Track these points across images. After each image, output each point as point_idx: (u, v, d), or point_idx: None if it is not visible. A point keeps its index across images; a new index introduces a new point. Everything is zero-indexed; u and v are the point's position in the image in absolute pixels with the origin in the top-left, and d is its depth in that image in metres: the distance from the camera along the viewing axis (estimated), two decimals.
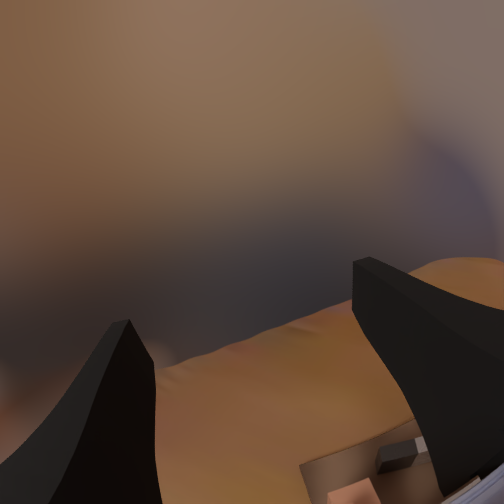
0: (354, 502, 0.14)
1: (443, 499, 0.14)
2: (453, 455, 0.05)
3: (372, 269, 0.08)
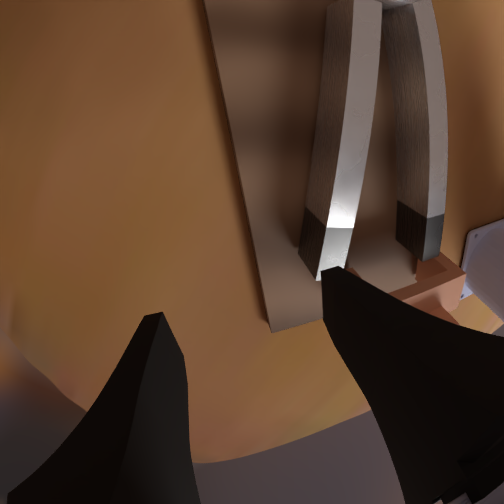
0: None
1: (391, 172, 0.17)
2: (416, 477, 0.05)
3: (337, 280, 0.08)
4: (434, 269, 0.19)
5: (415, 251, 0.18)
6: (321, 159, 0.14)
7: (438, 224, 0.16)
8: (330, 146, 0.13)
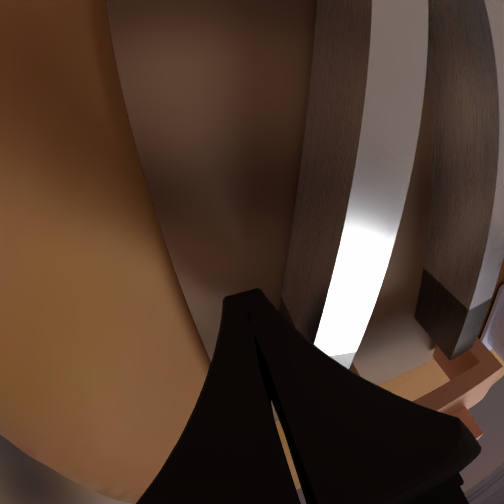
0: None
1: (420, 231, 0.11)
2: None
3: (246, 305, 0.08)
4: (461, 354, 0.12)
5: (441, 343, 0.11)
6: (308, 234, 0.08)
7: (481, 312, 0.10)
8: (324, 217, 0.07)
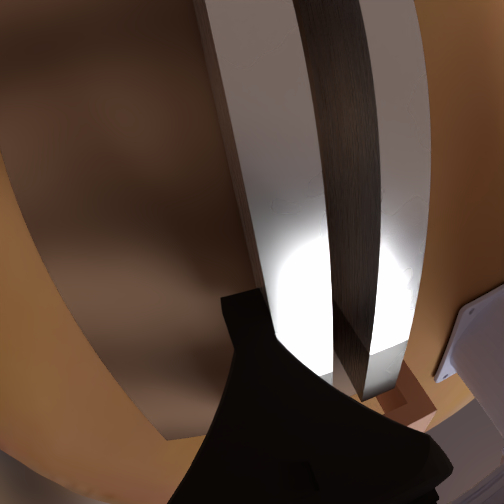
0: None
1: None
2: None
3: (227, 310, 0.08)
4: (391, 390, 0.12)
5: (353, 381, 0.11)
6: (257, 277, 0.09)
7: (394, 356, 0.09)
8: (257, 268, 0.07)
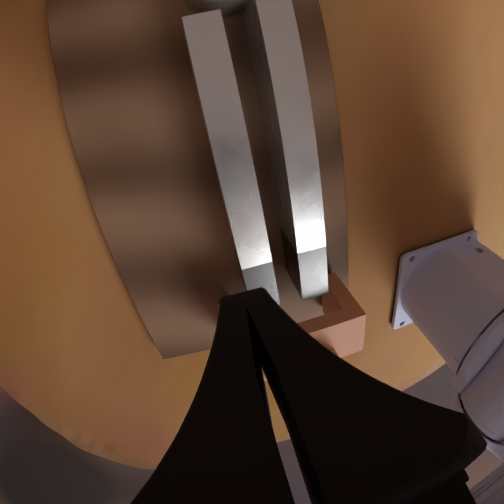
0: None
1: (267, 197, 0.17)
2: None
3: (251, 304, 0.08)
4: (333, 305, 0.18)
5: (297, 287, 0.17)
6: (223, 200, 0.15)
7: (318, 259, 0.15)
8: (220, 189, 0.13)
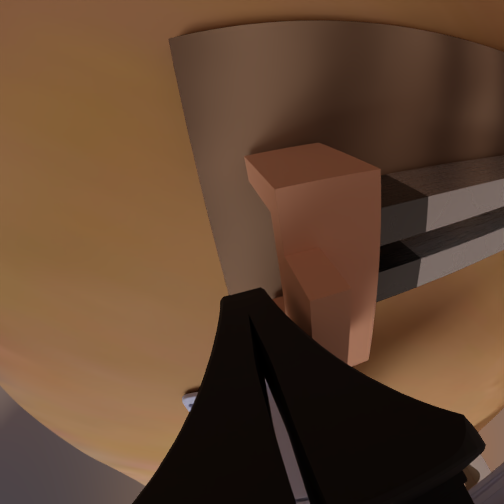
0: (332, 230, 0.08)
1: None
2: None
3: (249, 304, 0.08)
4: None
5: None
6: (448, 173, 0.12)
7: (407, 283, 0.12)
8: (470, 176, 0.11)
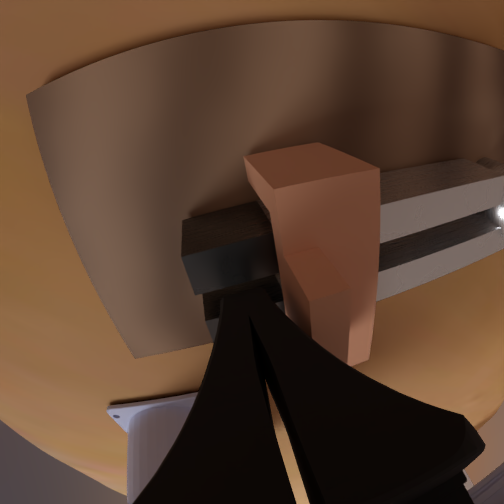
0: (331, 230, 0.08)
1: None
2: None
3: (249, 305, 0.08)
4: None
5: (212, 304, 0.11)
6: None
7: None
8: None
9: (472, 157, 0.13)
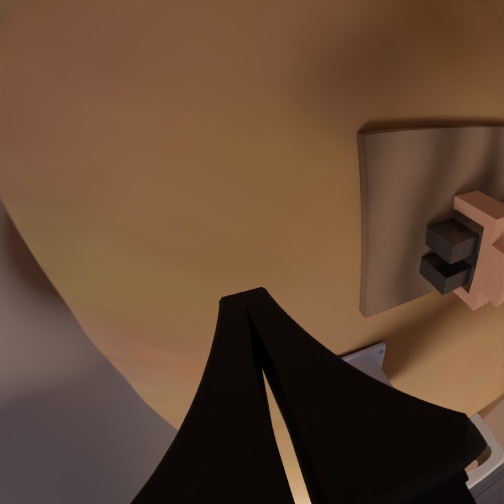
0: (503, 235, 0.16)
1: None
2: None
3: (251, 304, 0.08)
4: None
5: (442, 271, 0.19)
6: None
7: (464, 280, 0.19)
8: None
9: None
